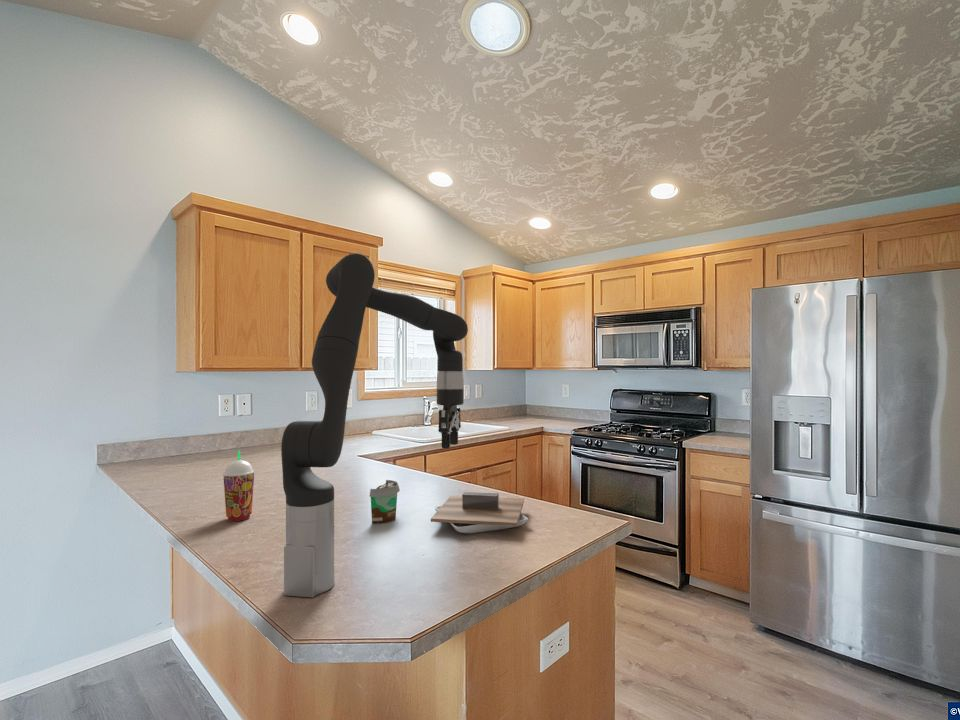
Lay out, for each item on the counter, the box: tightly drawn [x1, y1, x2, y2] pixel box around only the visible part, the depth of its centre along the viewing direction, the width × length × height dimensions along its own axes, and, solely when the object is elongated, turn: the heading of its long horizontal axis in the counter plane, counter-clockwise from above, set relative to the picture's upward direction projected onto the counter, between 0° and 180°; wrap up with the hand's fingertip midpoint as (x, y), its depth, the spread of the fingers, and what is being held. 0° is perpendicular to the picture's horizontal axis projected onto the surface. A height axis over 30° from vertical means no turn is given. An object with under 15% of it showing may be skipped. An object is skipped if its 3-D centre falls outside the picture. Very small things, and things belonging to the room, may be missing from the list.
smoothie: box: [222, 450, 256, 522], centre depth 142 cm, size 8×8×20 cm
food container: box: [369, 479, 400, 525], centre depth 140 cm, size 12×6×10 cm, turn 168°
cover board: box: [430, 491, 525, 527], centre depth 137 cm, size 23×23×5 cm
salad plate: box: [434, 505, 529, 534], centre depth 137 cm, size 21×21×3 cm
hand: (450, 446), depth 133 cm, fingers open, 8 cm apart
